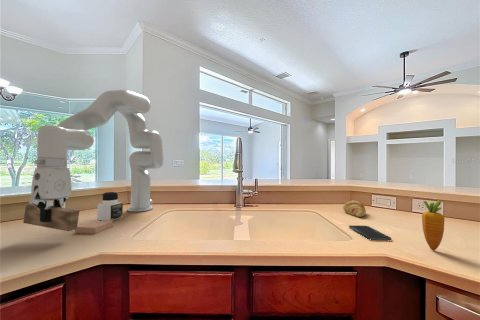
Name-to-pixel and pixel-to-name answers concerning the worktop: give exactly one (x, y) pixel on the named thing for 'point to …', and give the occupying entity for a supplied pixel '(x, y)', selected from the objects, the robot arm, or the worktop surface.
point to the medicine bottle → (110, 207)
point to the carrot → (433, 225)
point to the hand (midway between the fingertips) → (50, 219)
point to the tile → (94, 227)
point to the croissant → (354, 208)
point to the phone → (369, 233)
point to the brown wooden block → (53, 217)
